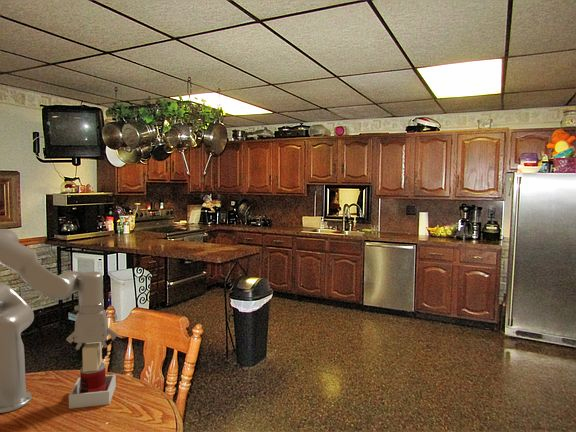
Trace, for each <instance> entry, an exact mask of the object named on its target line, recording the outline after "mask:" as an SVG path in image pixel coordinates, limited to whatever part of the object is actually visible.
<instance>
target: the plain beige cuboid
mask: <svg viewBox="0 0 576 432" xmlns="http://www.w3.org/2000/svg"><path fill="white" fill-rule="evenodd" d="M82 354H83V359H82V366H83V372H86V371H97V370H98V368H99V366H100V364H101V362H103V361H102V360H103V359H102V343H101V342H93V343H84V346H83V349H82Z"/></svg>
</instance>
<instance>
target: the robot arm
mask: <svg viewBox="0 0 576 432" xmlns="http://www.w3.org/2000/svg"><path fill="white" fill-rule="evenodd" d="M19 240H20V239H19V237H18V235H17V234H16V233H15V232H14V231H13V230H11V229H8V228H0V265H1V266H3V267H4V268H7V269H9V270H10V271H12V272H14V273H15V274H17V275H18V277H20V278H21V280H23V282H24V283H25V284H26V285H27V286H28V287H30V288H31V289H32V290H33V291H36V292H37V293H40V294H41V295H44V296H46V297H48V298H50V299H52V300H57V301H58V300H59V301H61V300H64V299H67V298H69V297H70V296H71V295H73V294H74V293H76V292H78V304H77V305H74V310H77V311H78V312H77V313H76V315H75V322H74V331H73V332H71V334H70V335H68V337H66V339H65V340H66V341H67V342H68V343H69V344H70V345H71V346H72V347H73V348H75V350H76V358H77V359H78V361H79V362H82V361H83V354H82V349H83V347H84V346H83V344H86V343H93V342H101V350H102V360H106V357H107V356H108V354H109V353H108V352H109V351H108V350H109V349H108V346H109V345H110V344H111V343H112V342H113V341H114V340H115V339H116V338H117V337H118V333H117V332H115V331H114V330H113V329H111V328H109V322H108V317H107V310H106V309H104V281H103V280H104V277H103V274H102V273H101V272H99V271H86V272H84V271H75V270H74V271H73V270H67V271H64V272H62V273H61V274H55V273H54V272H52V271H50V270H48V269H47V268H45V267H44V266H43V265H42V264H41V263H40V261H39V258H38V254H37V252H36V251H35V250H33V249H31V248H29V247H28V246H26V245H24V244H22V243H20V242H19ZM34 320H35V314H34V310H33V308H32V307H31V306H30V305H29V303H28V302H27V301H25V299H23V298H22V297H21V296H20V295H19V294H18V293H17V292H16V291H15V290H14V289H13V288H12V287H11V286H10V285H9V284H6V283H4V282H2V281H0V414H4V413H8V412H13V411H15V410H19V409H20V408H22V407H24V406H25V405H27V404H28V403H30V401H31V400H32V393H31V392H29V391H27V387H26V361H25V360H26V359H25V345H24V343H23V339H22V336H21V335H22V332H23V331H25V330H27V328H29V327H30V326H31V325H32V323H33V322H34ZM108 336H110V337H109V338H108Z"/></svg>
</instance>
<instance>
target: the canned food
mask: <svg viewBox="0 0 576 432" xmlns="http://www.w3.org/2000/svg"><path fill="white" fill-rule="evenodd" d="M79 372H80V373H79V375H80V377H79V378H81V391H80V393H89V392H99V391H107V388H106V373H107V372H106V364H105V362H103V361H102V362H101V364H100V366H99V368H98V370H97V371H86V372H83V365H82V366H81V367H80V370H79Z"/></svg>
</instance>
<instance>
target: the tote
mask: <svg viewBox="0 0 576 432" xmlns="http://www.w3.org/2000/svg"><path fill="white" fill-rule="evenodd" d="M116 378H117V376H116V374H108V375H106V391H99V392H89V393H81V378H80V377H78V378H77V380H76V382H75V384H74V386H73V387H72V389H71V390H70V393H69V394H68V409H78V408H80V409H81V408H87V407H88V408H89V407H96V406H97V407H98V406H107V405H110V403H111V401H112V398H113V396H114V393H115V390H116V387H117V384H116V383H117V382H116V381H117V379H116Z"/></svg>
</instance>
